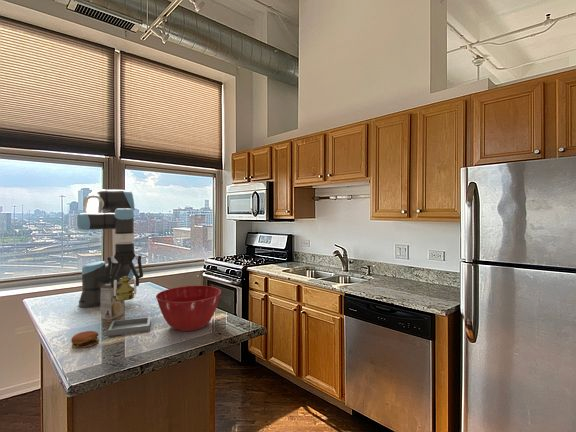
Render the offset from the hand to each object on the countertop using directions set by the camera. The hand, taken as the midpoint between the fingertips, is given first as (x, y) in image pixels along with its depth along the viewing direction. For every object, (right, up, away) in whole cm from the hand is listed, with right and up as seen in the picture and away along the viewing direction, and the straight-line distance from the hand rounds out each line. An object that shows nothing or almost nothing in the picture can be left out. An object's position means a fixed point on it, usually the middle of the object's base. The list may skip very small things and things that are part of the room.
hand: (125, 294), depth 150 cm
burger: (-8, -16, -16) cm, 24 cm away
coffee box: (-15, -16, +18) cm, 28 cm away
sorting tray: (+2, -16, +1) cm, 16 cm away
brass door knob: (0, -2, 0) cm, 2 cm away
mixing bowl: (+27, -16, +4) cm, 32 cm away
